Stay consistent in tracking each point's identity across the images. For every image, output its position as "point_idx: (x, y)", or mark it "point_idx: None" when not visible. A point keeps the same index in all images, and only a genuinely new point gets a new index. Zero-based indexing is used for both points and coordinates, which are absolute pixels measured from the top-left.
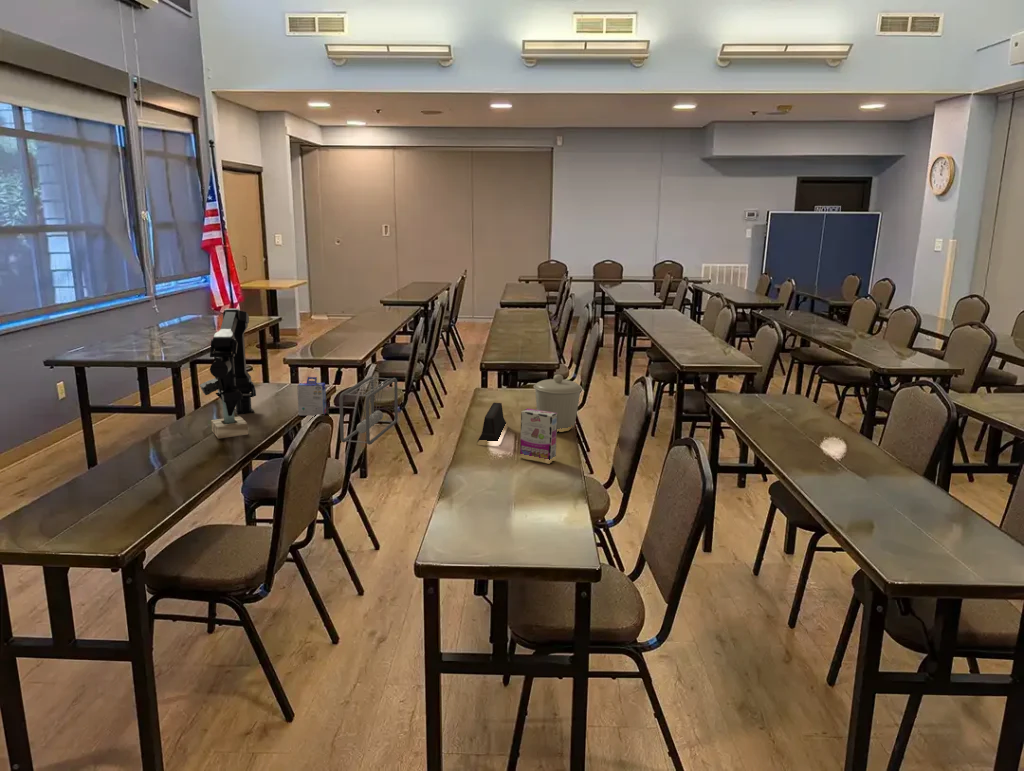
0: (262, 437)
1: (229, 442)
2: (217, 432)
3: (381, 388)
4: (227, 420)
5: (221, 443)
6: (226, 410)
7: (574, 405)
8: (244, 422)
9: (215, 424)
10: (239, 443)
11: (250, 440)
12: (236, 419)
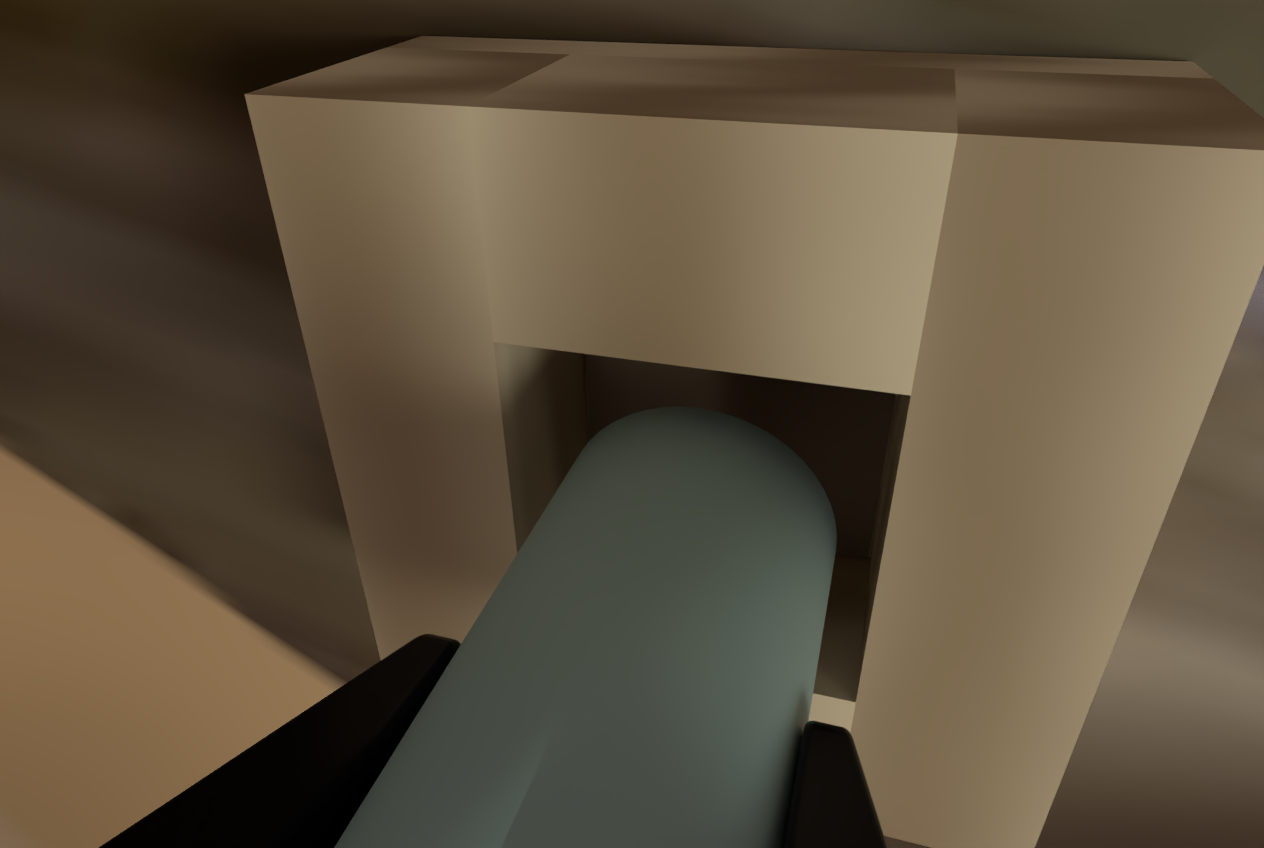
0: (287, 620)
1: (139, 166)
2: (394, 63)
3: None
4: (548, 507)
5: (99, 8)
6: (384, 768)
7: None
8: None
9: (587, 131)
10: (71, 288)
11: (189, 463)
12: None
